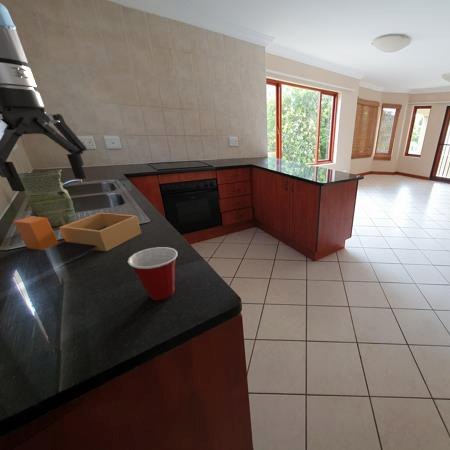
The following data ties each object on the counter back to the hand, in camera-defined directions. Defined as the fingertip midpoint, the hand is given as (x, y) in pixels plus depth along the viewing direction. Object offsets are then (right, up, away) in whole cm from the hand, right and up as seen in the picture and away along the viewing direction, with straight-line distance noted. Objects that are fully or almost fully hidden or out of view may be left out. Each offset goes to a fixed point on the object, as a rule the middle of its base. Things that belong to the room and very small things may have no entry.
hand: (53, 184), depth 60 cm
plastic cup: (+26, -29, +4) cm, 39 cm away
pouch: (-40, -12, +42) cm, 59 cm away
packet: (-29, -20, +25) cm, 42 cm away
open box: (-13, -16, +33) cm, 39 cm away
